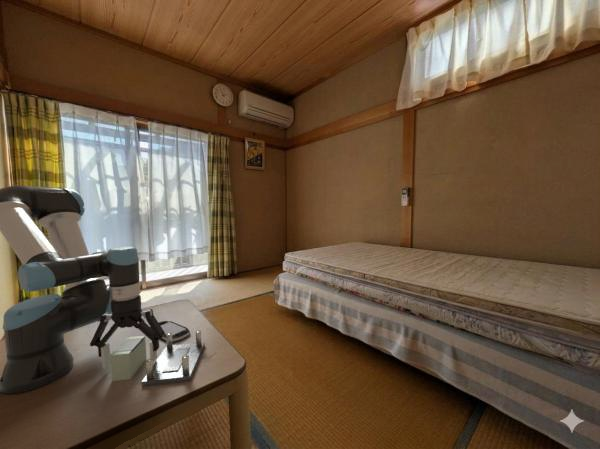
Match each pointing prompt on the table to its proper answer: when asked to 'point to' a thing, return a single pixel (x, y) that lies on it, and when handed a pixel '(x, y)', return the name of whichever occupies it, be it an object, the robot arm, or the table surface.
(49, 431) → the table surface
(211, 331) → the table surface
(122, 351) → the pale green block
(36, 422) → the table surface
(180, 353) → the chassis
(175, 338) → the gaming console
